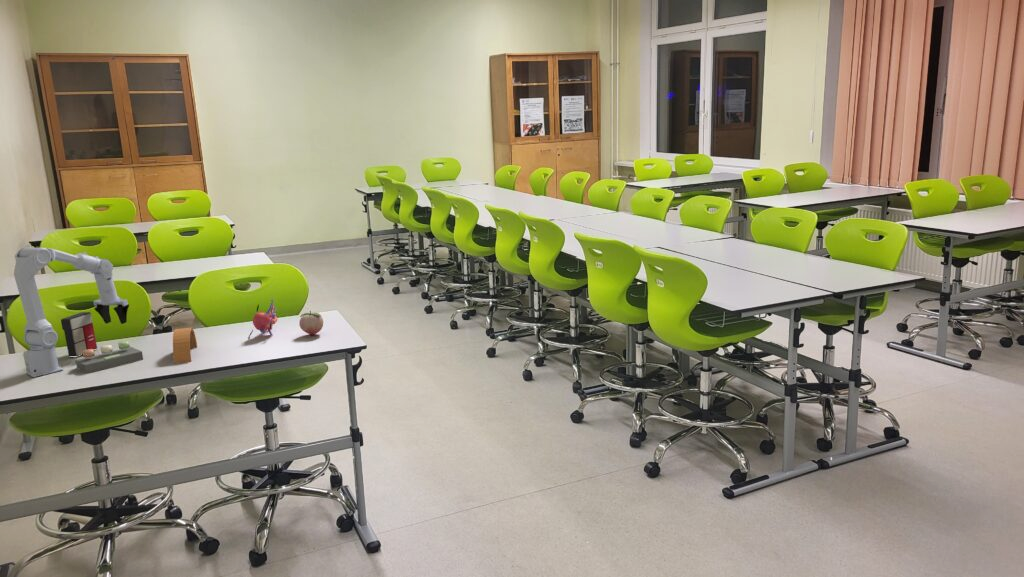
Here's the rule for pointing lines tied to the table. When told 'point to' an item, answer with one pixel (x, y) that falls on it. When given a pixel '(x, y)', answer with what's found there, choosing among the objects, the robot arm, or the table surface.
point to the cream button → (106, 349)
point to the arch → (183, 344)
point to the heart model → (265, 320)
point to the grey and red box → (79, 333)
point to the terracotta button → (88, 353)
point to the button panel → (109, 359)
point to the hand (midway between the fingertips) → (116, 322)
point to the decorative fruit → (311, 323)
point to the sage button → (124, 345)
